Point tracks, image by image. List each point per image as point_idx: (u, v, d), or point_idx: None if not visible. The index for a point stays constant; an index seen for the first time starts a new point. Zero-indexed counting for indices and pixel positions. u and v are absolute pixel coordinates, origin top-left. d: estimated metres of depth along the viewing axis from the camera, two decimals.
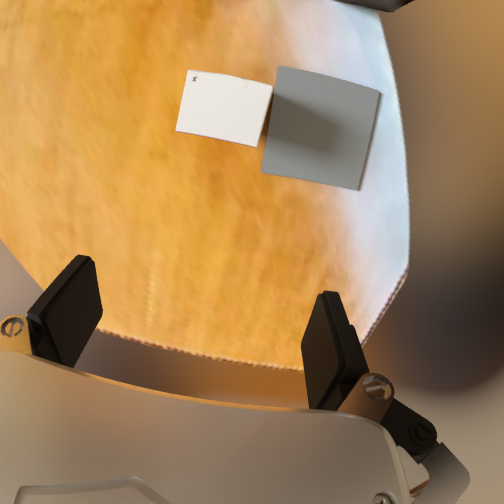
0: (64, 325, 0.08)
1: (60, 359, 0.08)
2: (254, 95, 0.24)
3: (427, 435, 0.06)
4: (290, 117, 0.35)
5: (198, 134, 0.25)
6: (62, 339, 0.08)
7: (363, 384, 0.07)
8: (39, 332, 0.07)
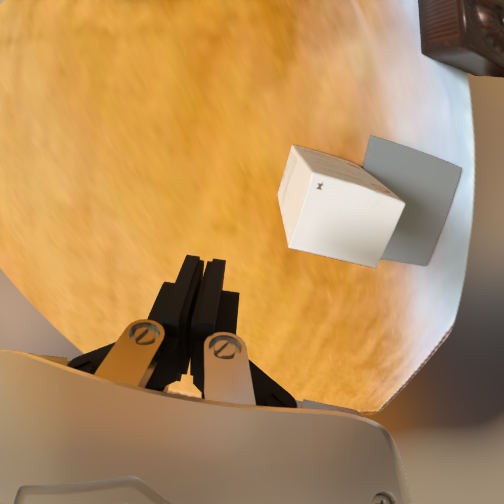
0: (190, 326, 0.10)
1: (183, 361, 0.09)
2: (385, 213, 0.21)
3: None
4: None
5: (316, 253, 0.23)
6: (188, 341, 0.10)
7: (214, 342, 0.08)
8: (170, 336, 0.09)
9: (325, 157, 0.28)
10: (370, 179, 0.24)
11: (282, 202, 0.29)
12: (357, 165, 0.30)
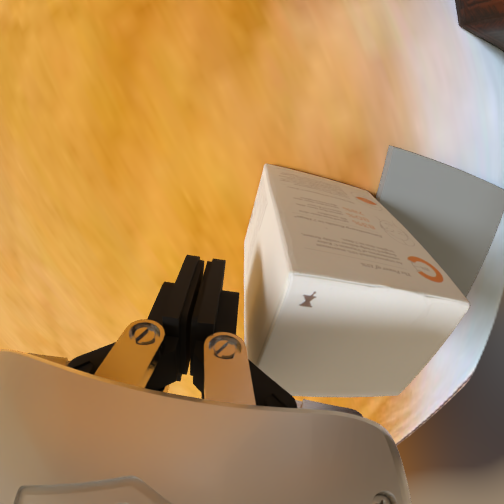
0: (190, 326, 0.10)
1: (183, 361, 0.09)
2: (433, 327, 0.10)
3: None
4: None
5: (297, 395, 0.11)
6: (188, 341, 0.10)
7: (214, 342, 0.08)
8: (171, 336, 0.09)
9: (320, 189, 0.16)
10: (402, 239, 0.13)
11: (246, 270, 0.17)
12: (370, 195, 0.19)
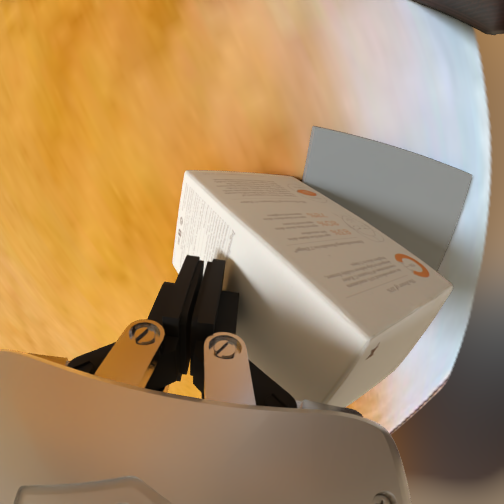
0: (190, 326, 0.10)
1: (183, 361, 0.09)
2: (432, 315, 0.11)
3: None
4: None
5: None
6: (188, 340, 0.10)
7: (214, 342, 0.08)
8: (170, 336, 0.09)
9: (268, 194, 0.15)
10: (372, 235, 0.14)
11: None
12: (300, 182, 0.19)
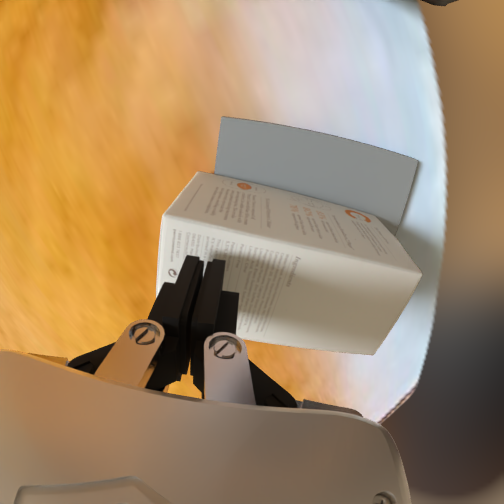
0: (190, 326, 0.10)
1: (183, 361, 0.09)
2: None
3: None
4: None
5: None
6: (188, 341, 0.10)
7: (214, 342, 0.08)
8: (170, 336, 0.09)
9: (253, 206, 0.15)
10: (322, 205, 0.18)
11: (252, 329, 0.15)
12: (217, 175, 0.19)
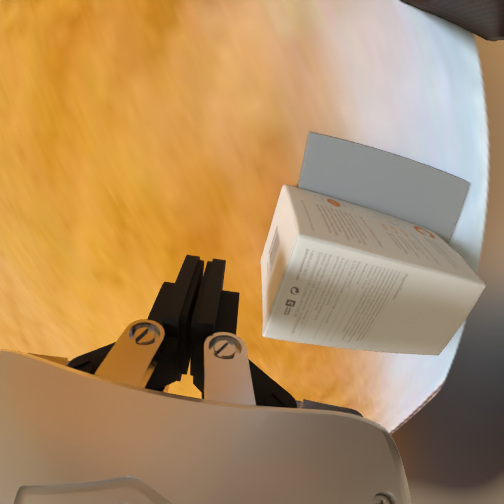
0: (190, 326, 0.10)
1: (183, 361, 0.09)
2: None
3: None
4: None
5: None
6: (188, 341, 0.10)
7: (214, 342, 0.08)
8: (171, 336, 0.09)
9: (357, 225, 0.15)
10: (397, 222, 0.19)
11: (354, 339, 0.15)
12: (304, 190, 0.19)
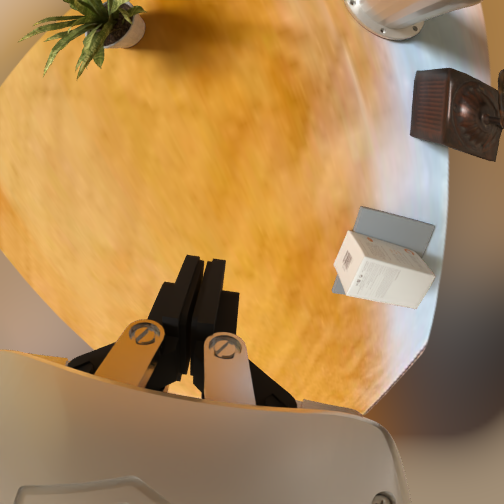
0: (190, 326, 0.10)
1: (183, 361, 0.09)
2: None
3: None
4: None
5: None
6: (188, 341, 0.10)
7: (214, 342, 0.08)
8: (171, 336, 0.09)
9: (381, 251, 0.38)
10: (396, 247, 0.41)
11: (379, 297, 0.38)
12: (357, 233, 0.41)
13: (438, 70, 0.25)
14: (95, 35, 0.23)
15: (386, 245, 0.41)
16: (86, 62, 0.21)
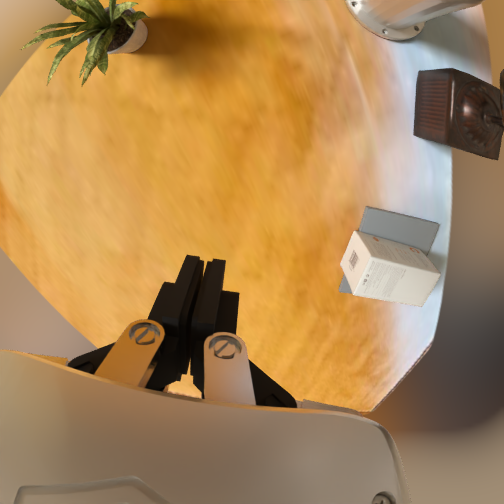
0: (190, 326, 0.10)
1: (183, 361, 0.09)
2: None
3: None
4: None
5: None
6: (188, 341, 0.10)
7: (214, 342, 0.08)
8: (171, 336, 0.09)
9: (387, 250, 0.38)
10: (402, 246, 0.41)
11: (386, 295, 0.38)
12: (362, 233, 0.42)
13: (440, 70, 0.25)
14: (98, 41, 0.23)
15: (391, 244, 0.41)
16: (90, 69, 0.22)
